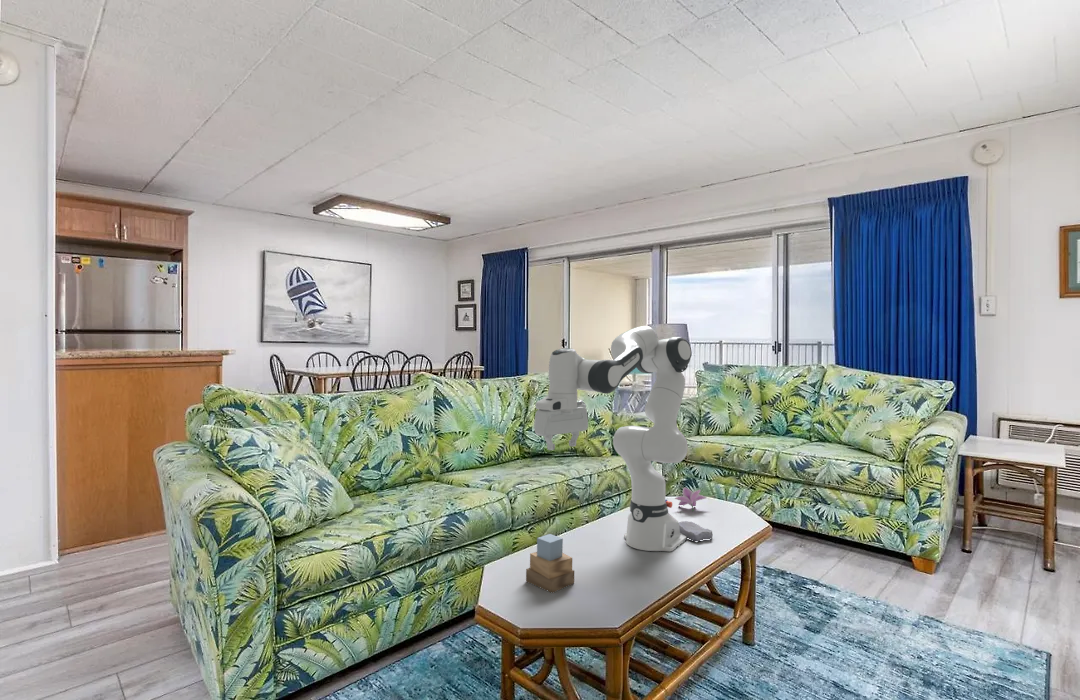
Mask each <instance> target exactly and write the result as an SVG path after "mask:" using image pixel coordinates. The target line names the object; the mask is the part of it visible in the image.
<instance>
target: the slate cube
mask: <svg viewBox="0 0 1080 700" xmlns="http://www.w3.org/2000/svg"><path fill="white" fill-rule="evenodd" d="M563 541H564V539H563V538H562V537H559V536H557V535H554V534H551V533H548V534H545V535H542V536H540V537H537V538H536V552H537V556H538V557H541V558H543V559H546V560H548V561H551V560H554V559H557V558H559V557H562V553H563V548H564V547H563V545H564V544H563Z"/></svg>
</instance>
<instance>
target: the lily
mask: <svg viewBox="0 0 1080 700" xmlns="http://www.w3.org/2000/svg"><path fill="white" fill-rule="evenodd" d="M700 493H701V489H697V490H695V491H692V490H691V489H689V488H688V487H684V486H683V488H682V495H681V496H680V495H679V496H676V497H675V498H674V499H675V500H678V501H679V502H678V505H683V506H685V505H688V506H691V509H692V511H694V507H693V506H696V507H697V502H698V501H701V500H705V499H707V496H705V495H702V494H700Z"/></svg>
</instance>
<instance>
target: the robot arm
mask: <svg viewBox="0 0 1080 700" xmlns="http://www.w3.org/2000/svg"><path fill="white" fill-rule="evenodd" d="M610 352H611V353H610V354H611V356H612V358H613V359H586V358H584V357H583V356H581V355H579V354H578V352H577V351H576V349H574V348H559V349H558V348H557V349H555V350H553V351H552V352H551V354H550V357H549V362H548V363H549V364H548V381H549V387H548V391H547V392H548V395H547V396H544V397H543V398H541V399H540V400H537V401H536V402H535V410H536V411H535V414H534V427H533V428H534V429H533V430H534V433H535V434H536V436H538V437H543V438H544V440H545V444H546V447H547V448H546V449H547V450H548V451H554V450H555V448H556V444H555V443H553V440H552V439H553V436H555V435H556V436H557V435H561V434H569V433H571V438H570V439H569V440H568V446H569V447H576V446H577V441H578V438H579V436H580V432H583V431H587V430H588V427H589V419H588V418H589V417H588V411H587V405H586V403H585V402H584V401H583V400H578V390H579V391H587V392H597V393H601V394H606V395H607V394H611V393H613V392H614V391H615V390H616V389H617V387H618V386H619V385H620V383H621V382H622V380H624V378H626V377H627V376H628V375H629V374H631V372H633V371H634V370H635V369H637V370H638V371H639V372H640V373H643V374H653V373H655V375H656V377H655V382H654V383H653V386H652V387H651V390H650V392H649V395H648V398H647V401H646V403H645V406H644V412H645V416H646V418H647V419H649V420H650V421H651V422H652V423H653V426H651V427H649V426H639V425H626V426H620V427H619V428H618V429H617V430H615V433H614V434H613V438H612V443H613V448H614V450H615V452H616V453H617V454H618V455H619V456H620V457H621V458H622V460H623V461H624V463H625V464H626V466H627V467H626V468H627V469H628V471H629V476H630V480H631V482H630V483H631V499H630V501H629V502H630V504H629V512H630V513H628V517H627V526H626V533H624V534H623V535H624V536H623V538H624V539H625V542H626V545H628V546H629V547H631V548H634V549H637V550H641V551H646V552H648V551H649V552H650V551H651V552H659V551H660V552H661V551H662V552H673V551H674V550H676V549H677V548H678V547H679V546H681V545H682V544H683V543H684V542H686V541H687V540H688V539H687V537H686V536H685V535H683V534H681V533H680V527H679V522H680V521H678V520H677V519H676V518H675V517H673V516H672V514H671V513H670V512H669V509H671V508H672V507H673V501H668V500H667V501H666V502H665V499H666V483H667V482H666V480H665V477H664V475H662V474H661V473H660V472H658V471H657V470H656V469H655V467H654V466H653V464H652V462H656V463H661V464H663V463H664V464H674V463H675V464H677V463H681V462H682V461H683V460H684V459H685V458H686V456H687V455H688V450H689V449H688V448H689V445H688V441H687V439H686V436H685V435H684V434H683V433H682V432H681V431H680V429H679V428H678V422H677V418H678V414H679V410H680V408H681V407H680V406H681V404H682V401H683V399H684V397H683V396H684V394H685V388H686V387H685V385H686V377H685V376H684V374H683V372H685V371H686V370H687V368H688V367H689V363H690V362H691V358H692V353H693V352H692V348H691V345H690V343H689V341H688V340H687V339H686V338H684V337H681V336H672V337H670V338H669V337H668V338H663V339H659V336H658V334H657V331H655V329H653V327H650V326H647V325H642V326H641V325H640V326H635V327H633V328H631V329H629V330H626V331H624V332H623V333H621V334H619V335H617V336H616V337H614V339H613V341H612V342H611V345H610ZM686 539H687V540H686ZM685 540H686V541H685ZM683 541H684V542H683ZM682 542H683V543H682ZM681 543H682V544H681ZM680 544H681V545H680ZM677 546H678V547H677ZM676 547H677V548H676Z"/></svg>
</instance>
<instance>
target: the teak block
mask: <svg viewBox="0 0 1080 700" xmlns="http://www.w3.org/2000/svg"><path fill="white" fill-rule="evenodd" d="M529 568H531V569H533V570H535V571H536V572H538V573H540V574H541V575H543V576H545V577H546V578H548V579H550V578H554V577H557V576H561V575H564V574H568V573H572V570H573V557H572V556H569V555H568V554H565V552H564V553H563V552H562V557H559V558H557V559H554V560H551V561H548V560H546V559H543V558H541V557H538V556H537V551H535V552H531V553H530V552H529Z"/></svg>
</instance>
